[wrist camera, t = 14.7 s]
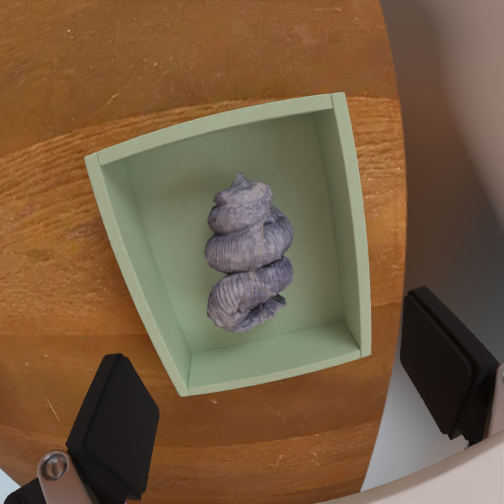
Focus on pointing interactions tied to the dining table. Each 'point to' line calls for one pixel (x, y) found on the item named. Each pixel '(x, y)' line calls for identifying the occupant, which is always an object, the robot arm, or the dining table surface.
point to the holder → (198, 233)
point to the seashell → (247, 256)
